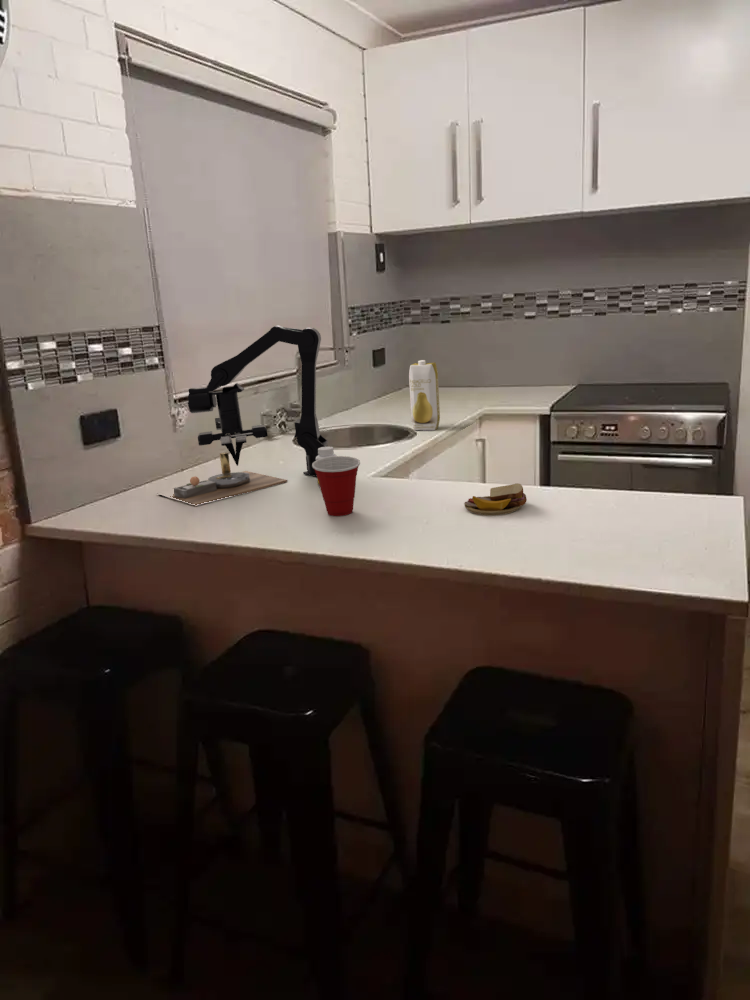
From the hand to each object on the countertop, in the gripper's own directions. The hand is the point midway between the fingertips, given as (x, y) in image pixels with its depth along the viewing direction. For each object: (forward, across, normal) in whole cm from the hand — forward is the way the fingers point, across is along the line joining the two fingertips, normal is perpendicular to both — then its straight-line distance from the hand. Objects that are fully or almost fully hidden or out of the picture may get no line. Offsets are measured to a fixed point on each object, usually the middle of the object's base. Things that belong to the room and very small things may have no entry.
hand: (237, 465), depth 210 cm
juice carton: (+5, -66, -45) cm, 80 cm away
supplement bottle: (+5, -22, +21) cm, 31 cm away
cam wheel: (+3, +3, +6) cm, 8 cm away
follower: (+3, +10, +13) cm, 17 cm away
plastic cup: (+6, -22, +46) cm, 51 cm away
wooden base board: (+4, +5, +9) cm, 11 cm away
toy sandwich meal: (+7, -55, +56) cm, 79 cm away
